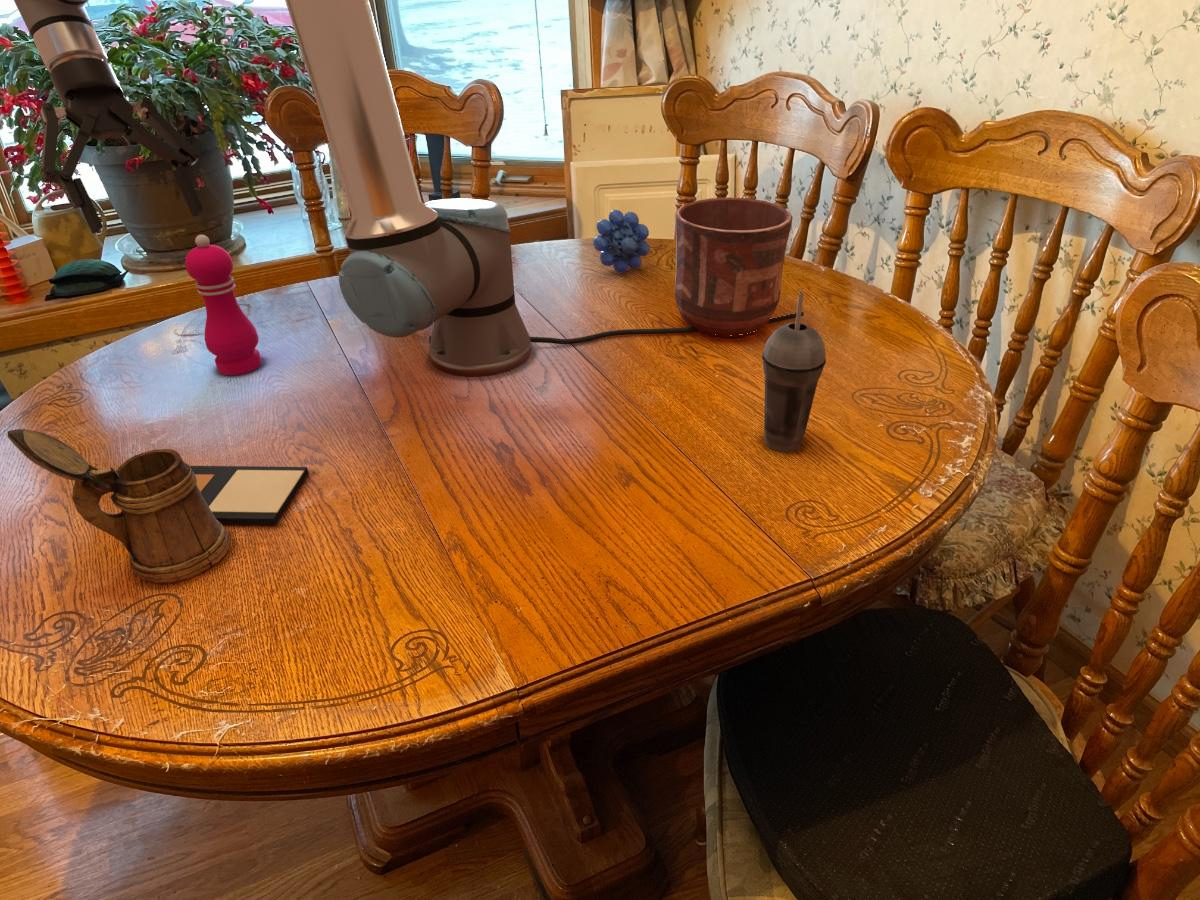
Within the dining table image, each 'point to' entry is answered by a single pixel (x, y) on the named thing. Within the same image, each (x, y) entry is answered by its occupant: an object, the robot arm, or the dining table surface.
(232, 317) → the pepper mill
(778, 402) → the beverage cup
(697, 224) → the pottery
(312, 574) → the dining table surface
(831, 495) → the dining table surface
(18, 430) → the wooden mug
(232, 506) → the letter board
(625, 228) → the blue ball flower
